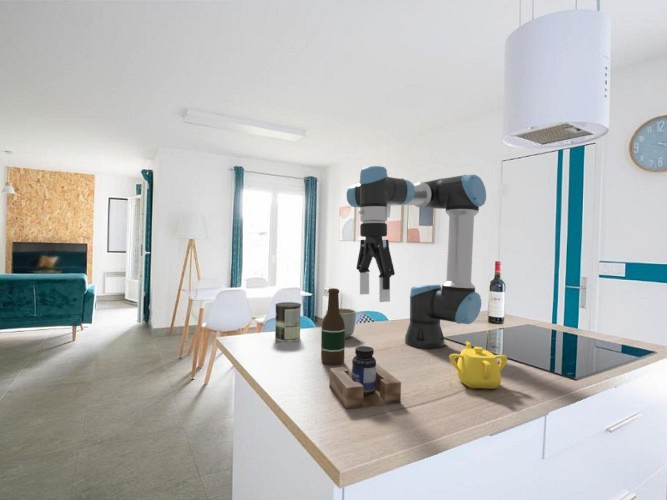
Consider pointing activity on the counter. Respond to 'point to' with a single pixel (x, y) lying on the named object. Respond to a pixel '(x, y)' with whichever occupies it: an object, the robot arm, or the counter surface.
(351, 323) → the planter
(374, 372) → the pill bottle
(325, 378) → the counter surface
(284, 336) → the coffee can
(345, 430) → the counter surface
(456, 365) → the teapot
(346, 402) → the socket
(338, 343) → the beer bottle
